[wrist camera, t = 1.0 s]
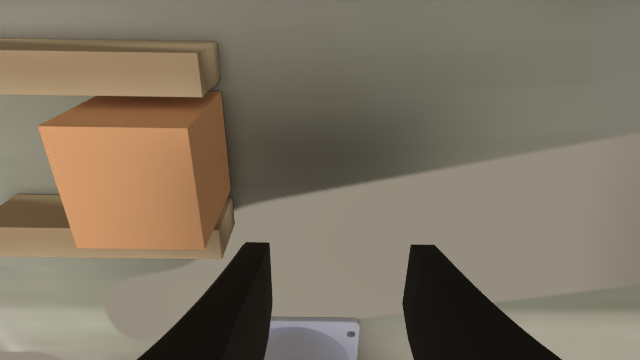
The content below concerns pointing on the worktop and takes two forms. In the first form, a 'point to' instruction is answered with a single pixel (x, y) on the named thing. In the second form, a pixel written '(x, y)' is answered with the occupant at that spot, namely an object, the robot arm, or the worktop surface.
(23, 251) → the beige upright blocks
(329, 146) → the worktop surface
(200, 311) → the robot arm
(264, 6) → the worktop surface
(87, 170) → the block
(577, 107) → the worktop surface
